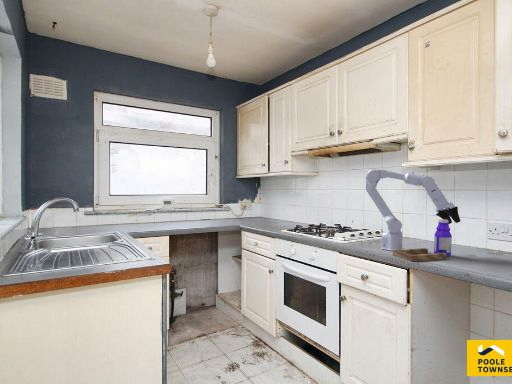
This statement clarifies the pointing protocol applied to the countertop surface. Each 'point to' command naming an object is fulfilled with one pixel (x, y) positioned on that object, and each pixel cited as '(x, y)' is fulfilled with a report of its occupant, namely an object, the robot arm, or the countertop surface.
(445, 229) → the bottle
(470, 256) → the countertop surface
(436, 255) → the cradle
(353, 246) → the countertop surface
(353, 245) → the countertop surface
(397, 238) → the robot arm
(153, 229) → the countertop surface
